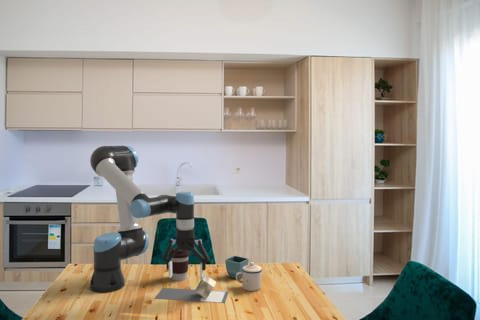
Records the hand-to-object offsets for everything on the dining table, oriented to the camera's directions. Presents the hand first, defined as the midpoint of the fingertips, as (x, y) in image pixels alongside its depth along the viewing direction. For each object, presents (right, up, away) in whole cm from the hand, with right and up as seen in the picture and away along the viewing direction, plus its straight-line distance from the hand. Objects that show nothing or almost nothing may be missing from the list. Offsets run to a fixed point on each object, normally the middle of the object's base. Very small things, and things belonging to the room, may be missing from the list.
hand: (186, 277), depth 166 cm
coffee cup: (-6, -7, +20) cm, 23 cm away
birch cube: (+6, -2, 0) cm, 6 cm away
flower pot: (+21, -8, +25) cm, 34 cm away
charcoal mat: (+3, -8, 0) cm, 9 cm away
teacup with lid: (+27, -8, +12) cm, 31 cm away
